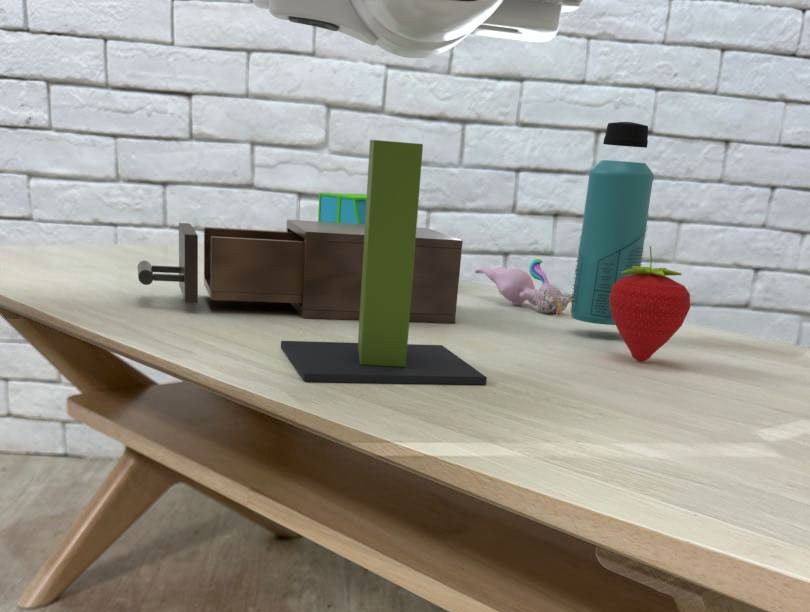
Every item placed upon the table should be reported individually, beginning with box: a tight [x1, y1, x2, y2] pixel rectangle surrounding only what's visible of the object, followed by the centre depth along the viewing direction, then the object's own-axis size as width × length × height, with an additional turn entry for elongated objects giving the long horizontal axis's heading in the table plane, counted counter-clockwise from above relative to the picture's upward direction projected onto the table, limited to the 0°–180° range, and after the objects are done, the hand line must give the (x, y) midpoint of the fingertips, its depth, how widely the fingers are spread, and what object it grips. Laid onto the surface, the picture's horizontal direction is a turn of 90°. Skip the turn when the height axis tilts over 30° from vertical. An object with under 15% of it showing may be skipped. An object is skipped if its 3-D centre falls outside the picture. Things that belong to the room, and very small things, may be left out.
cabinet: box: [285, 219, 464, 324], centre depth 103 cm, size 16×13×8 cm
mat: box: [280, 340, 488, 386], centre depth 79 cm, size 14×12×1 cm
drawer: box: [136, 222, 305, 304], centre depth 100 cm, size 19×11×6 cm, turn 105°
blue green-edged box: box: [317, 192, 367, 224], centre depth 124 cm, size 10×13×10 cm
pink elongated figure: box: [474, 258, 573, 317], centre depth 115 cm, size 6×6×15 cm
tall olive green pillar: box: [357, 139, 424, 367], centre depth 76 cm, size 4×6×16 cm, turn 5°
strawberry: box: [609, 245, 691, 362], centre depth 87 cm, size 6×8×10 cm
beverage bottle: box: [569, 121, 655, 326], centre depth 98 cm, size 6×7×20 cm
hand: (400, 6), depth 71 cm, fingers open, 8 cm apart
